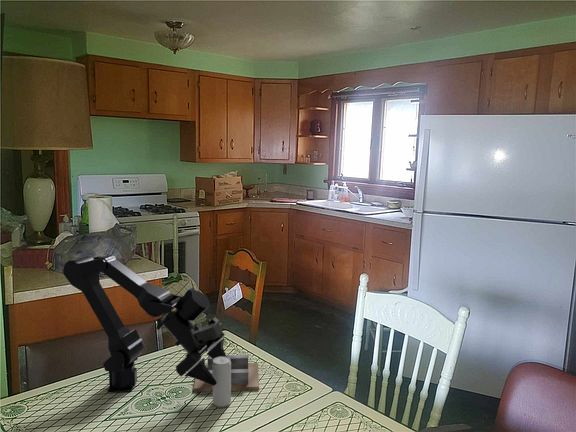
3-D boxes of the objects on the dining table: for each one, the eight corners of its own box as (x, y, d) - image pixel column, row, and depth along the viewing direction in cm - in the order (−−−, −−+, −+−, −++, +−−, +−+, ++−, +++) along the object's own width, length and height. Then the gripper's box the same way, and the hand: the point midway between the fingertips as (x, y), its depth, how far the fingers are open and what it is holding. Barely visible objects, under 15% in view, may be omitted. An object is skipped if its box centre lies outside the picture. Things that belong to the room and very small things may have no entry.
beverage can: (216, 409, 119) (215, 365, 117) (210, 400, 123) (209, 358, 122) (233, 405, 121) (233, 362, 120) (227, 396, 126) (227, 354, 124)
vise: (193, 391, 128) (193, 376, 127) (199, 365, 143) (198, 351, 142) (259, 390, 129) (259, 374, 129) (257, 364, 144) (257, 350, 144)
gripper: (186, 325, 111) (229, 375, 110) (217, 300, 129) (255, 343, 128) (157, 352, 114) (199, 400, 113) (192, 324, 132) (228, 366, 131)
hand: (222, 375), depth 121 cm, fingers open, 9 cm apart
